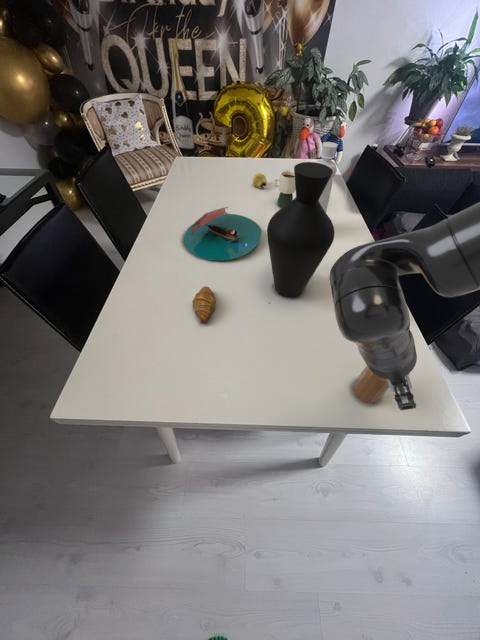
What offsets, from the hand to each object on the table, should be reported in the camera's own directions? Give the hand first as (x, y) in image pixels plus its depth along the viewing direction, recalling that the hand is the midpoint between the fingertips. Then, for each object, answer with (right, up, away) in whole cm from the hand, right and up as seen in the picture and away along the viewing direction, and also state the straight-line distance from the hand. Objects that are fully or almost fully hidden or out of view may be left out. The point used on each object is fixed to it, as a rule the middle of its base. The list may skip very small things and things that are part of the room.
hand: (398, 377), depth 57 cm
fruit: (-21, +72, +79) cm, 109 cm away
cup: (-1, -5, +11) cm, 13 cm away
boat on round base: (-37, +40, +51) cm, 75 cm away
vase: (-16, +21, +34) cm, 43 cm away
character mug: (-12, +59, +68) cm, 91 cm away
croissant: (-40, +15, +28) cm, 51 cm away
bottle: (-4, +44, +56) cm, 71 cm away
